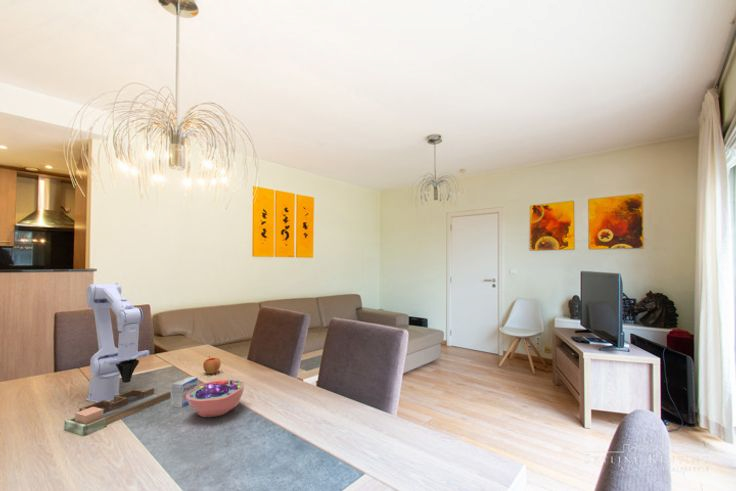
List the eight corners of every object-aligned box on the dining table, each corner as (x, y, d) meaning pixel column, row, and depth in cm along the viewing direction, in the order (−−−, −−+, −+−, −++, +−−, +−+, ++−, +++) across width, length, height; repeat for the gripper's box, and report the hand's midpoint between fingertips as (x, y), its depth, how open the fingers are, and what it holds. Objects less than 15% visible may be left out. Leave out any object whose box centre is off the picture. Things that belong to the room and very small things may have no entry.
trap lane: (53, 426, 105) (54, 417, 105) (142, 392, 132) (142, 386, 132) (84, 435, 100) (84, 426, 100) (170, 399, 127) (170, 391, 127)
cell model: (255, 406, 122) (256, 375, 123) (208, 431, 104) (210, 394, 105) (222, 397, 129) (223, 368, 130) (173, 419, 111) (174, 385, 112)
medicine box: (181, 409, 119) (182, 384, 119) (170, 407, 120) (172, 383, 120) (197, 400, 127) (198, 377, 127) (186, 398, 127) (188, 375, 128)
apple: (215, 376, 152) (216, 358, 152) (199, 376, 152) (200, 358, 153) (222, 371, 159) (223, 354, 160) (207, 370, 160) (208, 353, 160)
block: (74, 427, 103) (75, 413, 104) (92, 420, 108) (93, 406, 108) (84, 431, 102) (85, 416, 102) (102, 423, 106) (103, 409, 107)
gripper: (114, 349, 110) (111, 391, 109) (155, 339, 123) (153, 376, 123) (100, 346, 112) (97, 387, 112) (142, 337, 126) (140, 374, 125)
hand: (126, 381), depth 117 cm, fingers closed
